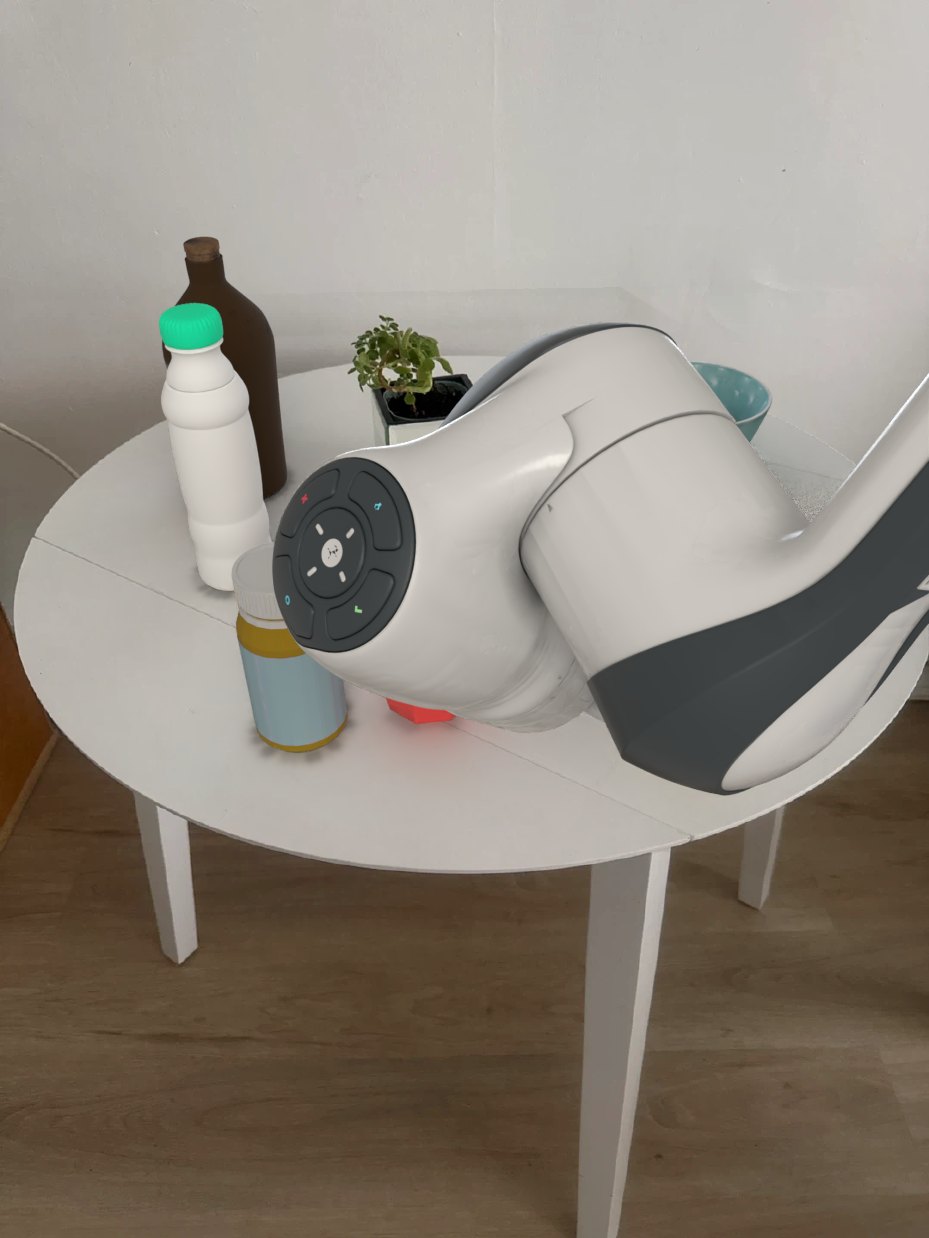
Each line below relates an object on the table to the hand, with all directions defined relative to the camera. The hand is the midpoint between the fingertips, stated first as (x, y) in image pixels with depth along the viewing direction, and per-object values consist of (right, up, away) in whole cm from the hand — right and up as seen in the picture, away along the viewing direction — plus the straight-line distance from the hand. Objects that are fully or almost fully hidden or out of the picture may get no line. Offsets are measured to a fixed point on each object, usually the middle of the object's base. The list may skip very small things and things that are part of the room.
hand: (613, 682), depth 60 cm
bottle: (-21, -5, +17) cm, 28 cm away
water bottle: (-30, +8, +33) cm, 45 cm away
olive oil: (-33, +18, +46) cm, 59 cm away
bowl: (+15, +21, +48) cm, 54 cm away
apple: (-12, -3, +19) cm, 22 cm away
